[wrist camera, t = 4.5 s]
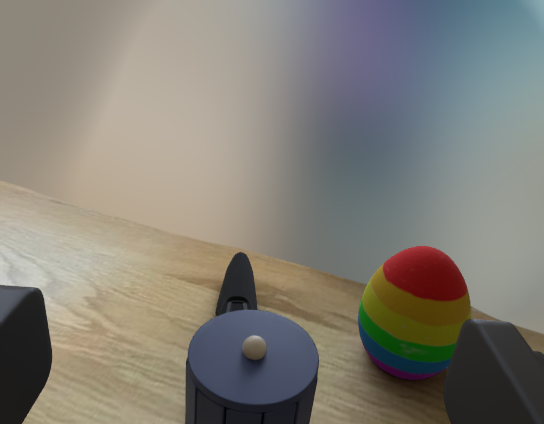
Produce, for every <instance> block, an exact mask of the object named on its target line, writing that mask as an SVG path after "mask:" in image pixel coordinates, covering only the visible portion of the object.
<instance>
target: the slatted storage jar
mask: <svg viewBox="0 0 544 424" xmlns="http://www.w3.org/2000/svg"><path fill="white" fill-rule="evenodd" d="M318 366H319V356H318V352H317V348H316V346H315V344H314V342H313V340H312V339H311V337H310V336H309V335H308V333H307V332H306V331H305V330H304V329H303V328H302V327H300V326H299V325H298V324H296V323H295V322H293V321H291V320H290V319H288V318H285V317H283V316H281V315H278V314H275V313H271V312H266V311H260V310H239V311H233V312H229V313H225V314H222V315H219V316H217V317H215V318H213V319H211V320H210V321H208V322H206V323H205V324H204V325H203V326H202V327H200V329H199V330H198V331H197V332H196V333H195V335H194V336H193V338H192V340H191V342H190V345H189V349H188V358H187V360H186V413H185V424H309V422H310V417H311V411H312V406H313V401H314V395H315V390H316V385H317V372H318Z"/></svg>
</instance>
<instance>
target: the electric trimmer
mask: <svg viewBox="0 0 544 424" xmlns="http://www.w3.org/2000/svg"><path fill="white" fill-rule="evenodd" d="M239 310H257V300H256V292H255V283H254V276H253V270H252V267H251V264H250V262H249V259H248V257H247V255H246V254H244V253H242V252H240V253H237V254H235V256H234V257H233V259H232V260H231V262H230V264H229V266H228V268H227V271H226V274H225V278H224V281H223V285H222V288H221V292H220V296H219V299H218V303H217V308H216V315H217V316H219V315H222V314H225V313H229V312H233V311H239Z"/></svg>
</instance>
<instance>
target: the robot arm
mask: <svg viewBox="0 0 544 424" xmlns="http://www.w3.org/2000/svg"><path fill="white" fill-rule="evenodd" d="M51 364H52V348H51V341H50V335H49V329H48V322H47V316H46V310H45V303H44V298H43V294H42V292H41V290H40V289H38V288H34V287H19V286H5V285H0V424H22V423H23V421H24V419H25V418H26V416H27V414H28V413H29V411H30V409H31V408H32V406H33V404H34V403H35V401H36V399H37V398H38V396H39V394H40V393H41V391H42V389H43V388H44V386H45V384H46V382H47V379H48V377H49V373H50V370H51ZM444 402H445V408H446V411H447V414H448V417H449V419H450V422H451V424H544V355H543V354H542V353H541V352H537V351H533V350H532V349H531V348H530V346H529V345H528V344H527V342H526V341H525V340H524V338H523V337H522V335H521V334H520V333H519V331H518V330H517V329H516V327H515V326H514V325H513V324H511V323H509V322H502V321H487V320H473V319H468V320H466V321H465V322H464V323H463V325H462V327H461V329H460V333H459V336H458V339H457V342H456V345H455V349H454V352H453V355H452V358H451V361H450V365H449V368H448V371H447V374H446V378H445V382H444Z"/></svg>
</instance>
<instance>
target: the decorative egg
mask: <svg viewBox="0 0 544 424" xmlns="http://www.w3.org/2000/svg"><path fill="white" fill-rule="evenodd" d="M470 318H471V307H470V298H469V294H468V289H467V286H466V283H465V280H464V278H463V276H462V274H461V272H460V271H459V269H458V267H457V266H456V264H455V263H454V262H453V261H452V260H451V259H450V258H449V257H448V256H447V255H446V254H445V253H443V252H442V251H440V250H437V249H435V248H432V247H427V246H417V247H412V248H408V249H406V250H403V251H401V252H399V253H397V254H396V255H394V256H392V257H391V258H390V259H388V260H387V261H386V262H385V263H384V264H383V265H381V267H380V268H379V269H378V270H377V271H376V272H375V274H374V275H373V276H372V278H371V280H370V281H369V283H368V285H367V287H366V288H365V291H364V293H363V296H362V299H361V303H360V307H359V315H358V324H359V332H360V337H361V340H362V343H363V345H364V347H365V350H366V351H367V353H368V355H369V356H370V358H371V359H372V360H373V361H374V363H375V364H376V365H377V366H379V367H380V368H381V369H382V370H384V371H386V372H387V373H389V374H391V375H393V376H396V377H399V378H402V379H408V380H421V379H425V378H429V377H432V376H434V375H436V374H438V373H440V372H442V371H443V370H445V369H446V368H447V367H448V366H449V365H450V361H451V358H452V355H453V352H454V349H455V345H456V342H457V339H458V336H459V333H460V329H461V327H462V325H463V323H464V322H465V321H466V320H468V319H470Z"/></svg>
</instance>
